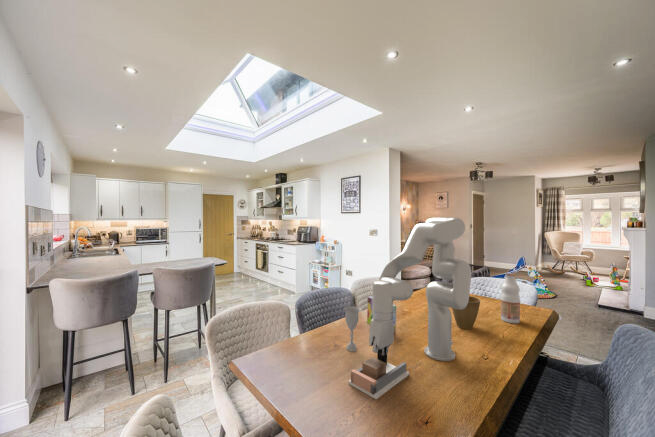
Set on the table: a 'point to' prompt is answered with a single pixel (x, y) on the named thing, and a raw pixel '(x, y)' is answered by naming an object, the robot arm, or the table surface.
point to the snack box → (369, 312)
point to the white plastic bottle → (510, 300)
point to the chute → (378, 380)
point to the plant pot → (467, 314)
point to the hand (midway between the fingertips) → (382, 364)
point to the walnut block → (374, 368)
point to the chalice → (351, 324)
